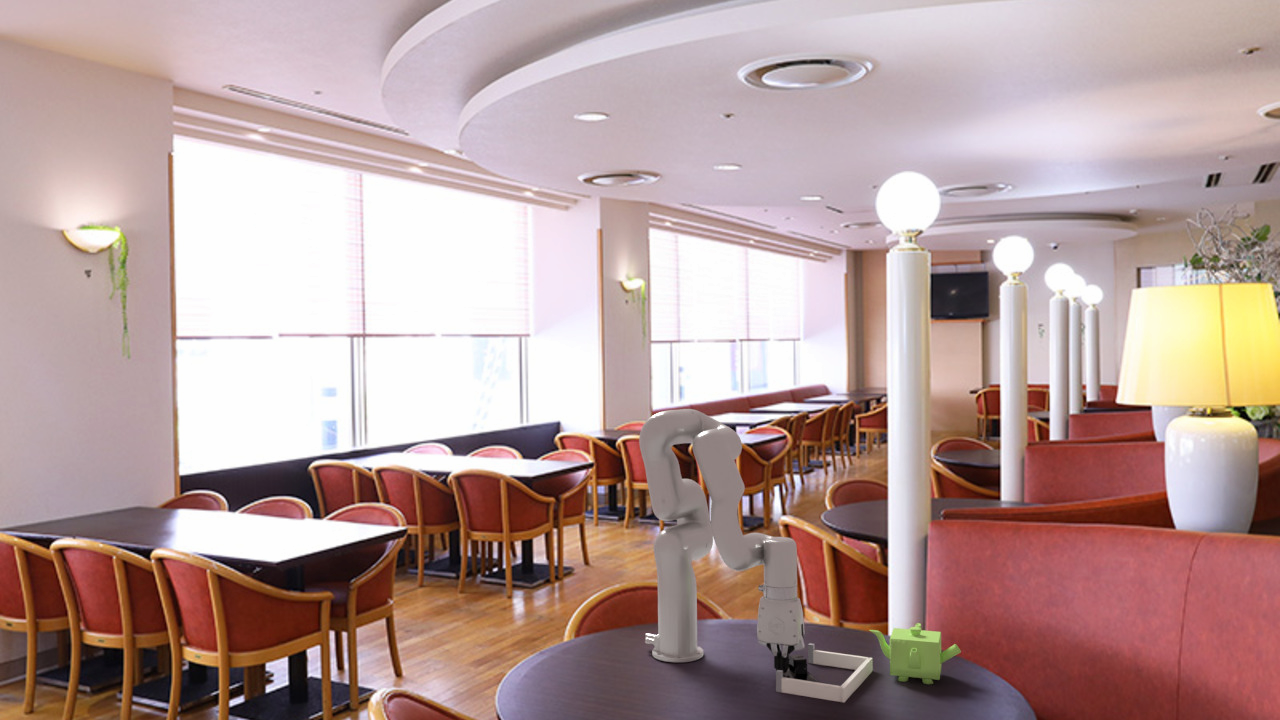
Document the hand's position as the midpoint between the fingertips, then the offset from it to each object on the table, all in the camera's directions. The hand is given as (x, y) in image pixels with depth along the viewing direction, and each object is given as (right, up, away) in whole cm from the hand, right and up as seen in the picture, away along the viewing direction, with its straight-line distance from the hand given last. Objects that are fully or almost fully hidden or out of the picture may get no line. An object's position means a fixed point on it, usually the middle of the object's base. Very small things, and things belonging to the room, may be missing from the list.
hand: (781, 672), depth 218 cm
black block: (+4, -1, 0) cm, 4 cm away
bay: (+9, -1, -4) cm, 10 cm away
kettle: (+30, -1, -1) cm, 30 cm away
